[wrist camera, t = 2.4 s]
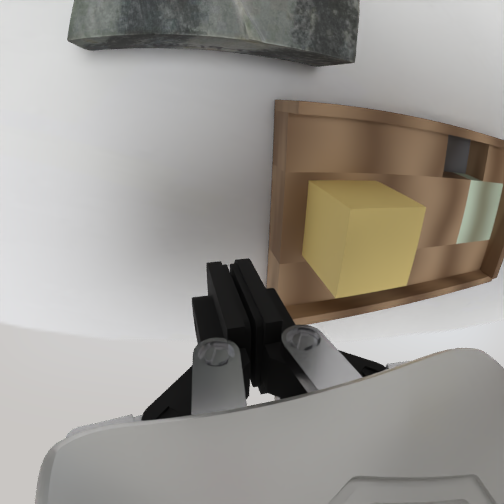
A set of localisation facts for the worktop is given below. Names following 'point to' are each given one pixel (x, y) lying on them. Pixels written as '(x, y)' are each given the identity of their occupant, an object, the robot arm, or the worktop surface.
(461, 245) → the box
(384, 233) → the block
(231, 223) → the worktop surface
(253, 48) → the stone block
